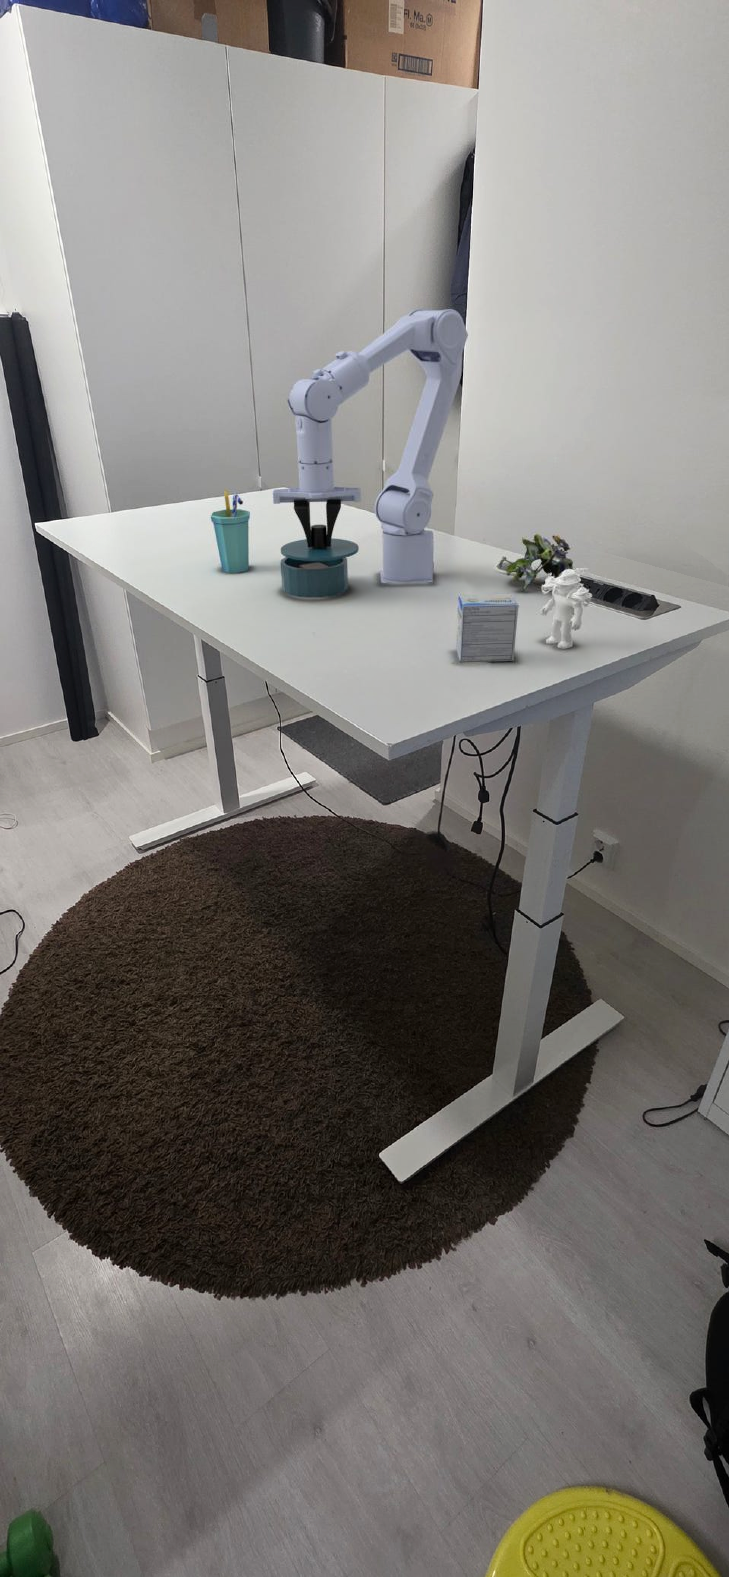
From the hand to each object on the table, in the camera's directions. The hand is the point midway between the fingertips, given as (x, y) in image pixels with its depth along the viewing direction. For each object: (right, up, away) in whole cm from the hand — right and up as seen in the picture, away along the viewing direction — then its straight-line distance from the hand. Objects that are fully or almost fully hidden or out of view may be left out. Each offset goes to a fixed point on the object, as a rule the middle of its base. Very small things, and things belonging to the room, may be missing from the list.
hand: (319, 545), depth 139 cm
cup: (-17, +1, +20) cm, 26 cm away
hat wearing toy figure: (+37, -20, -17) cm, 46 cm away
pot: (-1, -6, +8) cm, 10 cm away
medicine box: (+25, -23, -22) cm, 40 cm away
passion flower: (+39, -6, +7) cm, 40 cm away
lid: (0, -1, 0) cm, 1 cm away
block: (-1, -5, +7) cm, 9 cm away
